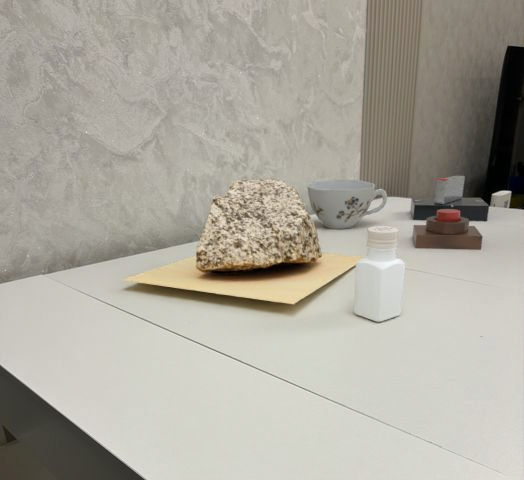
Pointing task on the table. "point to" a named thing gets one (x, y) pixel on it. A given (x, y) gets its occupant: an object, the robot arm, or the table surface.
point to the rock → (255, 248)
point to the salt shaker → (379, 276)
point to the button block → (447, 235)
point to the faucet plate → (467, 206)
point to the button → (448, 215)
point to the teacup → (343, 201)
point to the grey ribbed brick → (449, 189)
